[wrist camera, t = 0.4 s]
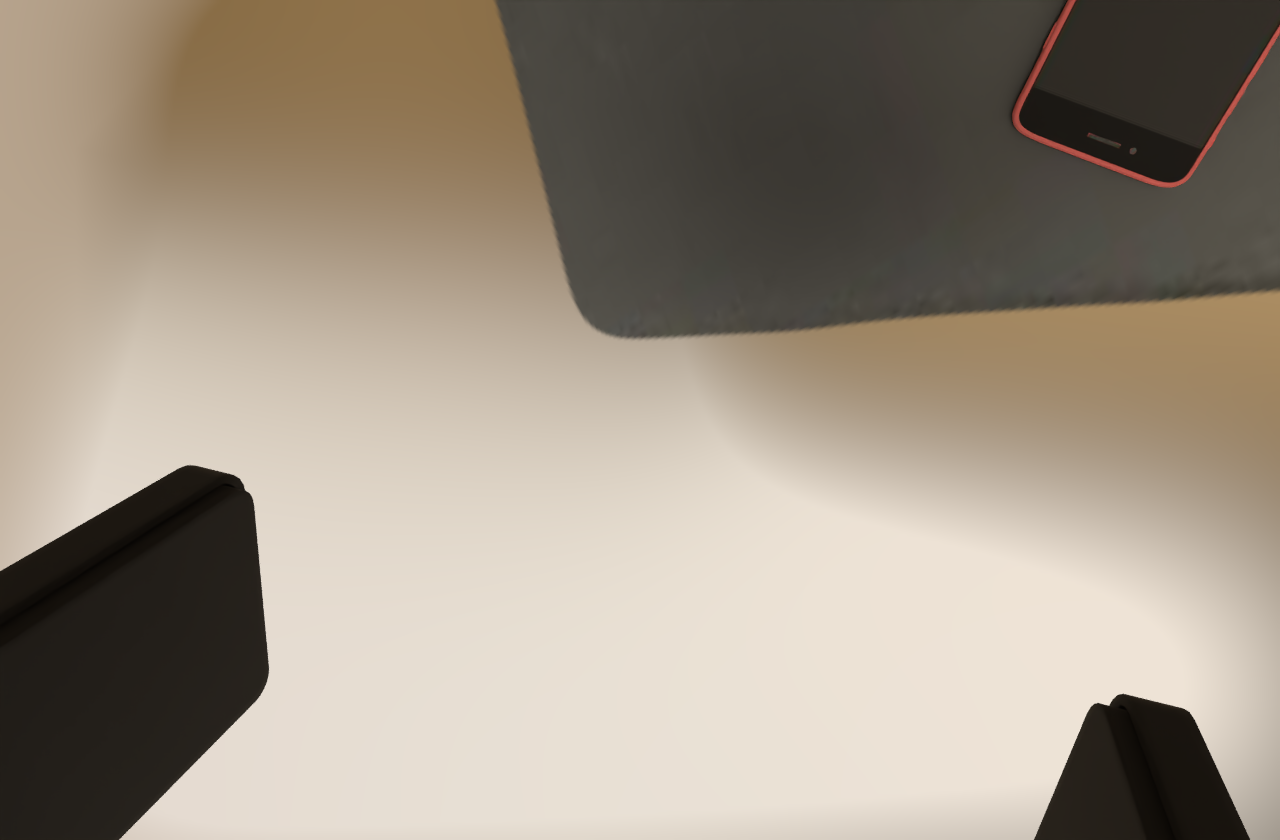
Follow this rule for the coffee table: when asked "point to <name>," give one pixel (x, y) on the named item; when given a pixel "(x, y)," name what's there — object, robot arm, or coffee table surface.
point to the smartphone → (1144, 81)
